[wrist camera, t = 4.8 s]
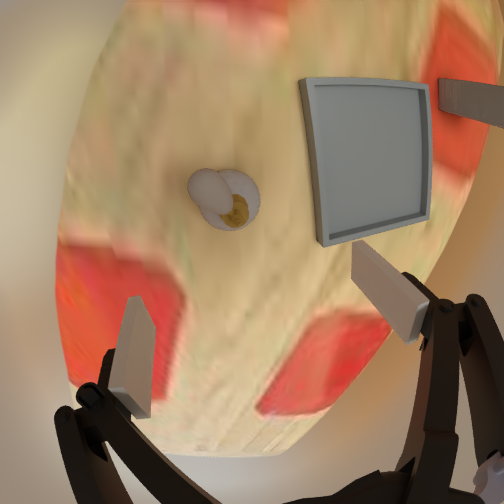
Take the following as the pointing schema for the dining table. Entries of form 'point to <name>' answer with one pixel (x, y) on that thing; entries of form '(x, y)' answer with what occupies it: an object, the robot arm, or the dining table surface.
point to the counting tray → (367, 155)
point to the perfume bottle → (225, 197)
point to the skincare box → (472, 100)
